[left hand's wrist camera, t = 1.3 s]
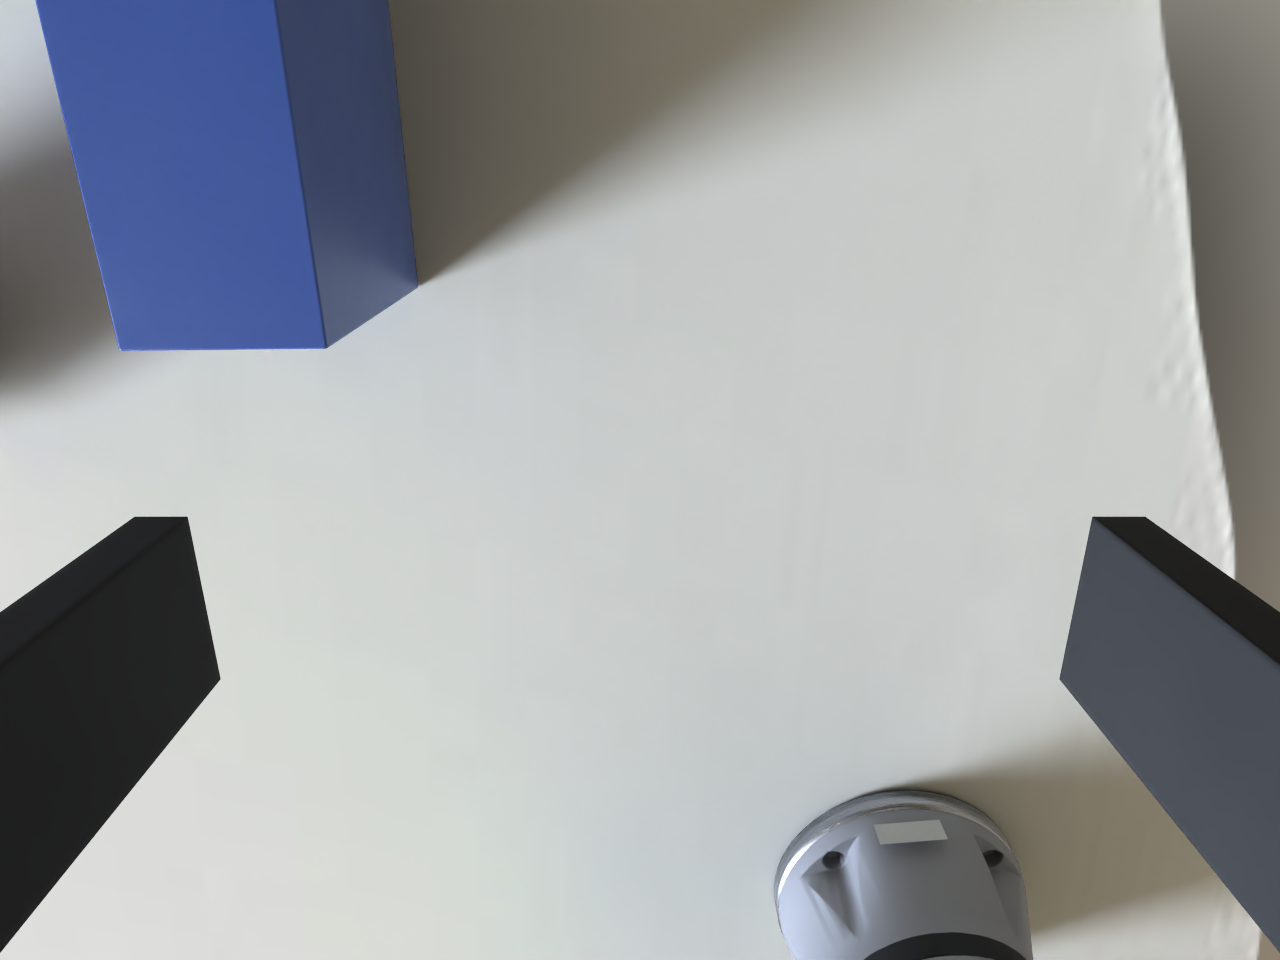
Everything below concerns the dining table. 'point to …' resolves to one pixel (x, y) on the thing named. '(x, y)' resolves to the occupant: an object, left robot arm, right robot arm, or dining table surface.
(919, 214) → the dining table surface
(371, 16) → the box
